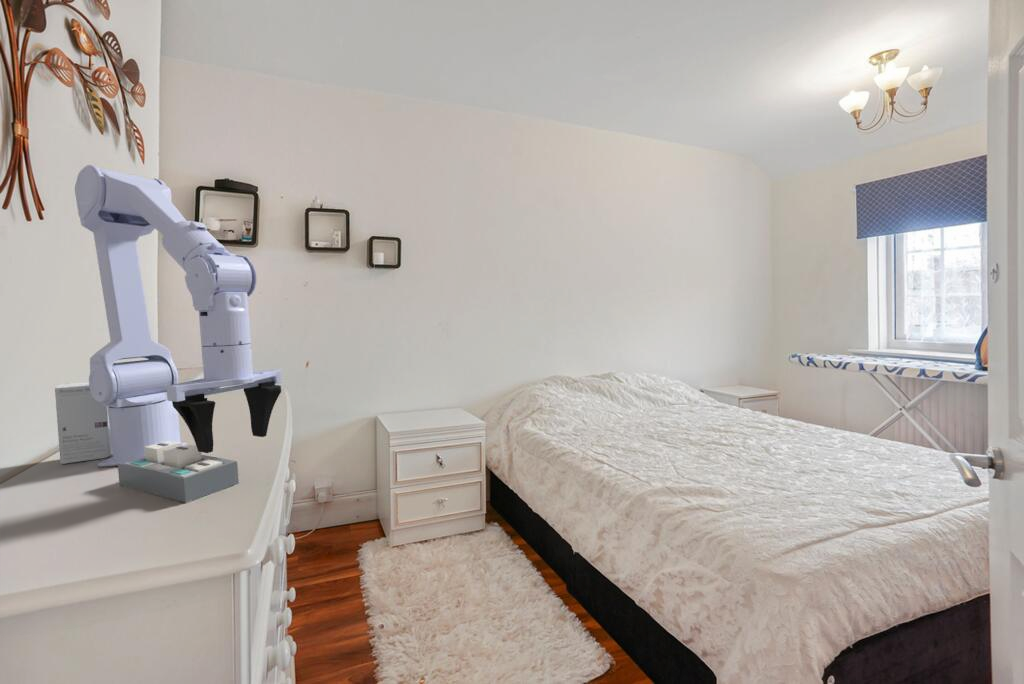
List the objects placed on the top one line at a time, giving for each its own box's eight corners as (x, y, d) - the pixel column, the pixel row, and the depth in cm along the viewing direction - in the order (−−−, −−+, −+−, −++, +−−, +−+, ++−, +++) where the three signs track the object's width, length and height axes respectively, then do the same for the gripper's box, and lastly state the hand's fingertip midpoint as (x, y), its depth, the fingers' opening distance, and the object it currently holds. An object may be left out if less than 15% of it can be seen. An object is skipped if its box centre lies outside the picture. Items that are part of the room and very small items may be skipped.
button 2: (185, 482, 59) (184, 465, 59) (209, 474, 62) (208, 458, 62) (200, 486, 58) (198, 468, 58) (223, 477, 61) (222, 461, 61)
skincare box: (59, 465, 71) (51, 387, 70) (67, 458, 75) (59, 384, 74) (112, 457, 75) (104, 383, 74) (116, 450, 78) (109, 379, 77)
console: (119, 485, 62) (117, 461, 62) (173, 468, 68) (171, 447, 68) (185, 503, 56) (183, 476, 55) (238, 483, 61) (237, 459, 61)
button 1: (145, 461, 63) (144, 446, 63) (169, 455, 66) (168, 440, 66) (158, 464, 62) (156, 448, 62) (182, 457, 64) (180, 442, 64)
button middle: (164, 466, 61) (163, 449, 61) (188, 458, 64) (187, 443, 64) (177, 468, 60) (176, 452, 60) (201, 461, 63) (200, 445, 62)
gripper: (187, 350, 54) (196, 463, 55) (293, 340, 67) (299, 432, 68) (153, 349, 57) (162, 456, 58) (261, 340, 70) (267, 427, 71)
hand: (234, 443), depth 64 cm, fingers open, 7 cm apart
